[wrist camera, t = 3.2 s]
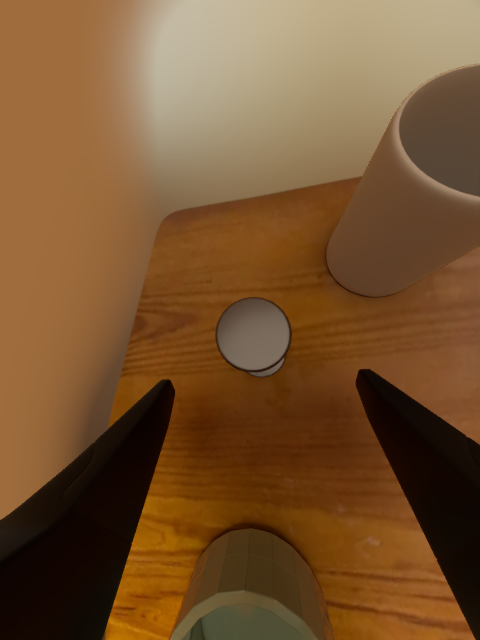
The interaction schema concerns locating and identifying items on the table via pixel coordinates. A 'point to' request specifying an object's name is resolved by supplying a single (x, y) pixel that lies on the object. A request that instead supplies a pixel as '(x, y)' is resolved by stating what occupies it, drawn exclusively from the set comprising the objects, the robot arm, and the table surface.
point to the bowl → (252, 593)
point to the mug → (415, 191)
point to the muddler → (254, 336)
